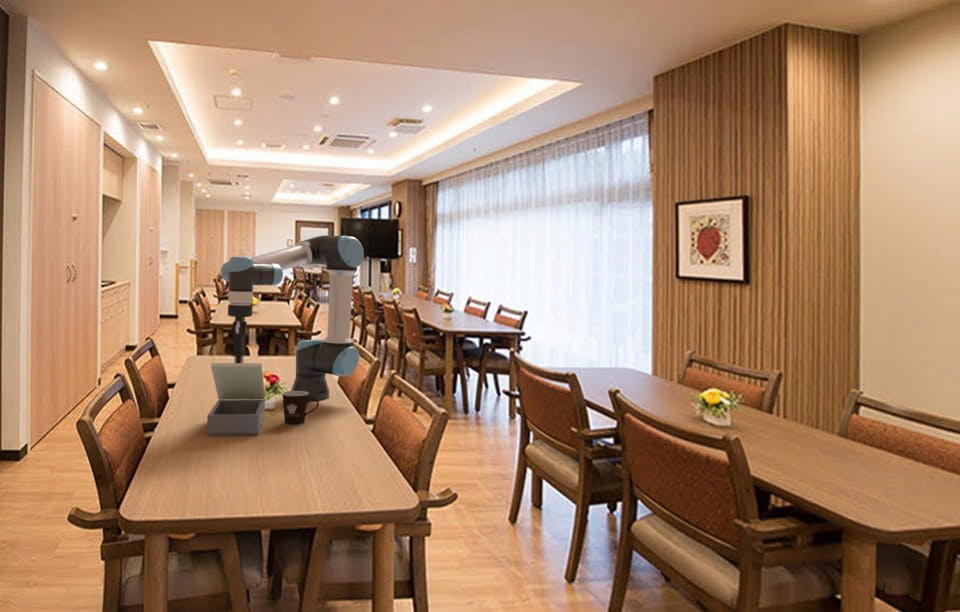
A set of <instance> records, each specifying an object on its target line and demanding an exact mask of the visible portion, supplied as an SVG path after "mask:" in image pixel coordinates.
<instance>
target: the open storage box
mask: <svg viewBox="0 0 960 612" xmlns="http://www.w3.org/2000/svg"><path fill="white" fill-rule="evenodd" d="M265 404H266V399H265V400H219V399H218V400H217V402H216V403H215V404H214V406H213V407H211V409H210V412H209V413H208V414H207V420H206V422H207V423H206V424H207V425H206V428H207V429H206V436H207V437H238V436H239V437H241V436H243V437H244V436H245V437H246V436H248V437H250V436H253V437H255V436H259V435H260V432H261V429H262V427H263V424H264V421H265V415H266V414H265V411H266V407H265V406H266V405H265Z"/></svg>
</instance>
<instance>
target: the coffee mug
mask: <svg viewBox="0 0 960 612" xmlns="http://www.w3.org/2000/svg"><path fill="white" fill-rule="evenodd" d="M281 394H282V403H283V415H284V416H283V417H284V423H285V424H286V425H289V426H290V425H293V426H294V425H295V426H296V425H302V424H305V421H306V416H307V415H309V414H310V413H313V412H314V411H315V410H317V408H318V407H319V405H320V403H319V400H317V399H316V398H310V399H308V394H309V393H308V392H305V391H291V390H289V391H283V392H282V393H281ZM312 399H313V400H312ZM310 401H315V402H316V406H315V407H314V408H313V409H311V410H310V411H308V412H307V408H308V407H307V406H308V404H309V402H310Z"/></svg>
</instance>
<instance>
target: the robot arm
mask: <svg viewBox="0 0 960 612" xmlns="http://www.w3.org/2000/svg"><path fill="white" fill-rule="evenodd" d="M364 255H365V252H364V248H363V245H362V243H361V242H360V241H359V239H357V238H356V237H354V236H349V235H327V234H326V235H318V236H315V237H311V238H307V239H304V240H301V241H298V242H296V243H295V244H294V246H293V245H292V246H288V247H286V248H282V249H278V250H275V251H271V252H267V253H264V254H259V255H257V256H252V257H251V256H231V257H229V260H228V261H226V262H224V263H223V264H222V265H221V269H220V275H221V277H222V280H223V281H225V282H228V286H227V287H228V292H227V293H226V297H228V299H227V302H228V303H229V304H228V305H227V315H228V316H229V317H232V318H233V317H234V321H233V322H232V331H233V332H232V333H233V354H232V355H231V356H232V357H234V361H233V363H244V361H245V360H244V357H245V356H246V355H247V353H246V352H245V351H246V350H245V347H246V333H247V326H248V322H247V321H246V318H248V317H249V318H250V317H252V316H253V305H252V304H253V301H254V300H253V299H254V286H255V287H256V286H269V287H271V286H277V285H279V284H280V283H281V282H282V280H283V278H284V274H283V273H284V271H285V270H288V269H289V270H290V269H292V268H296V267H299V266H303V267H308V266H312V265H318V266H319V265H321V266H322V265H323V266H325V271H326V272H327V273H328V274H329V287H328V290H329V292H328V293H329V294H328V311H327V312H328V313H327V335H326V337H325V338H317V339H307V340H306V339H305V340H300V341H298V342H297V344H296V349H295V379H294V381H293V384H292V387H291V390H290V391H305V392H308V393H309V394H308V399H310V398H316V399H317V400H318V401H320V400H326V399H328V398H330V388H329V385H328V381H327V378H326V374H327V375H333V376H337V377H348V376H349V375H351V374H354V371H355V370H356V369H357V367H358V365H359V361H360V352H359V351H358V349H357V348H356V347H354V340H353V339H352V337H351V316H352V297H353V296H352V295H353V294H352V293H353V292H352V291H353V277H354V275H355V274H356V273H357V268H358V267H360V266H361V264H362V262H364V261H363V260H364V257H365V256H364ZM311 401H314V400H313V399H312V400H311Z"/></svg>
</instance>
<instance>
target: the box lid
mask: <svg viewBox="0 0 960 612" xmlns="http://www.w3.org/2000/svg"><path fill="white" fill-rule="evenodd" d="M210 367H211V368H210V369H211V372H212V375H213V381H214V385H215V389H216V394H217V399H218V400H265V401H266V391H265V382H264V374H263V373H264V372H263V364H262V363H254V362H253V363H251V362H249V363H247V362H246V363H234V362H233V363H232V362H230V363H229V362H211V365H210Z"/></svg>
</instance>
